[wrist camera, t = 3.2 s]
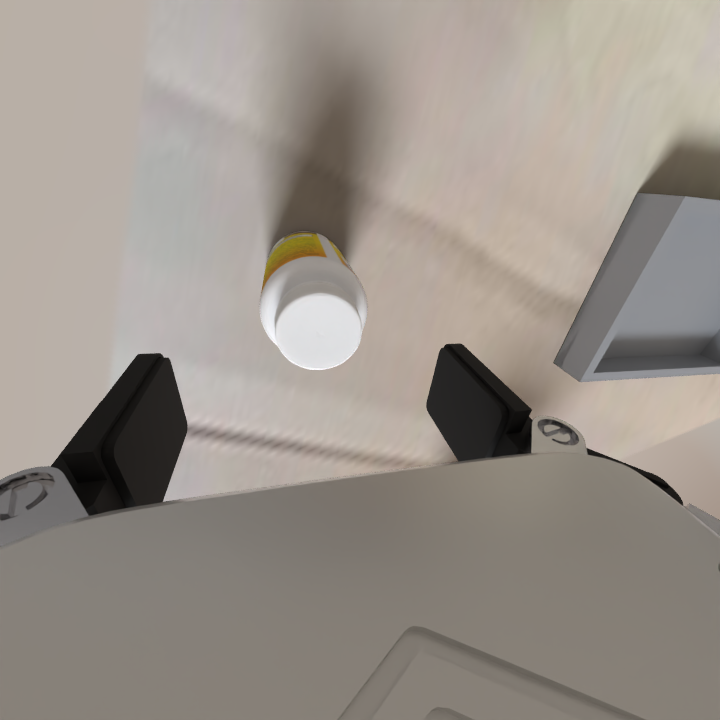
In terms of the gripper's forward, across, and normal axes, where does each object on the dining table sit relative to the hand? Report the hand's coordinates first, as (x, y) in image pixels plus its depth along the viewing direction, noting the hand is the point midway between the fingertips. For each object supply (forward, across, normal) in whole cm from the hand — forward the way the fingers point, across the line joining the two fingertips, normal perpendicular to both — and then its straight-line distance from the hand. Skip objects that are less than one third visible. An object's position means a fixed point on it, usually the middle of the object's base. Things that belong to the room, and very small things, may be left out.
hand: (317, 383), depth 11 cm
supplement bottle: (+14, -1, 0) cm, 14 cm away
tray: (+13, -37, +1) cm, 39 cm away
